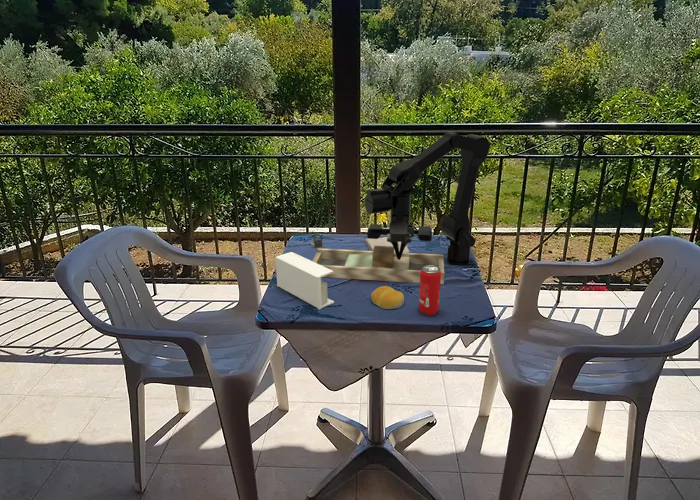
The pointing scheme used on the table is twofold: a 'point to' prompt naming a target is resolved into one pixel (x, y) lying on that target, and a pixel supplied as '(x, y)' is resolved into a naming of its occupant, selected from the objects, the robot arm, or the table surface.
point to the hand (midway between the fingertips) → (398, 259)
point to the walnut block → (383, 256)
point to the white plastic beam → (303, 279)
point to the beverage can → (429, 289)
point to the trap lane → (360, 267)
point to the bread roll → (387, 298)
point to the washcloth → (382, 244)
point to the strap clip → (317, 243)
